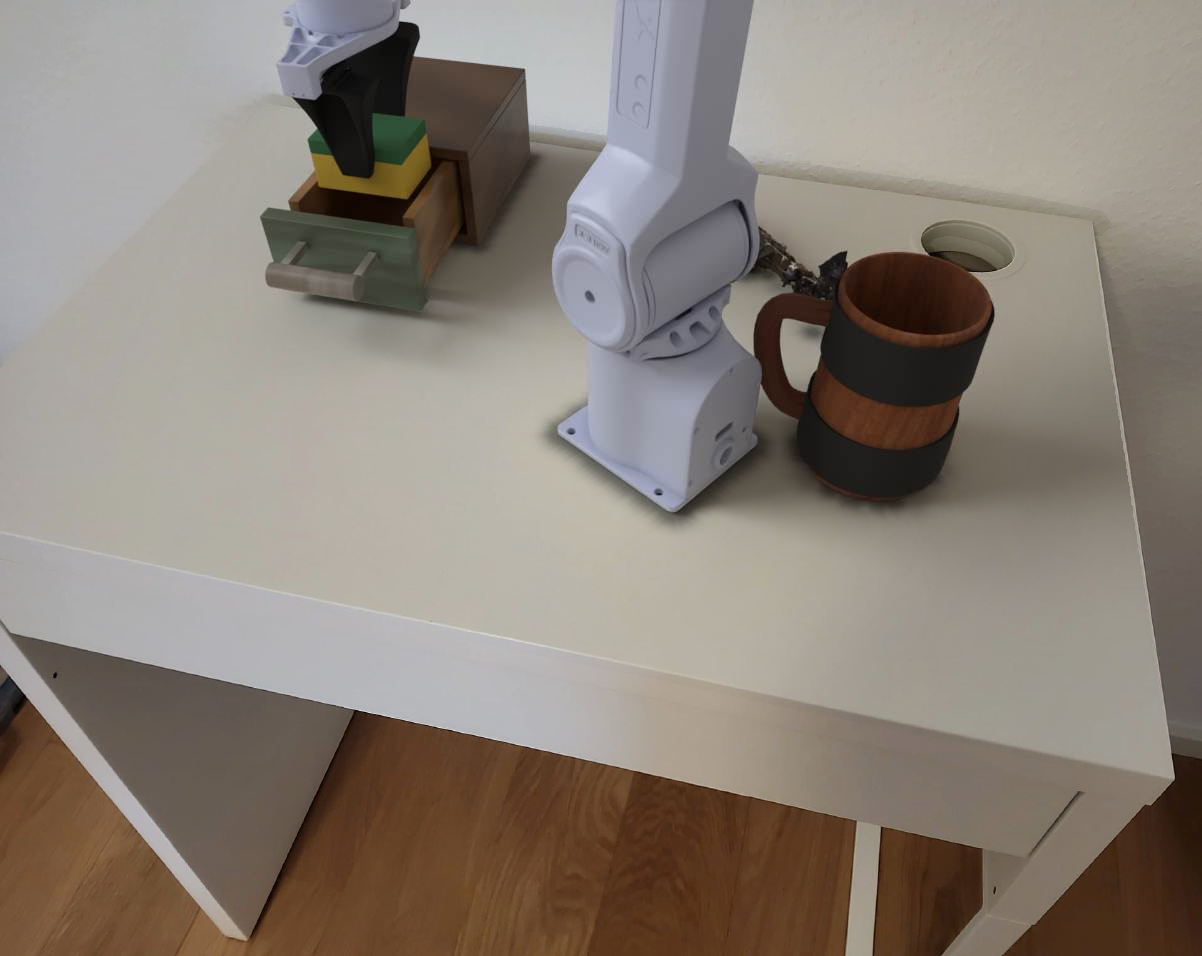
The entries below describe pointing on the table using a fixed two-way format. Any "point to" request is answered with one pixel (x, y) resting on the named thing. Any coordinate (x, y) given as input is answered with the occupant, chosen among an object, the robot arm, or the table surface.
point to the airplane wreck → (800, 269)
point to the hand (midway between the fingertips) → (373, 155)
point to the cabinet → (473, 130)
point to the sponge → (380, 159)
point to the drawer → (365, 239)
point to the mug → (880, 371)
